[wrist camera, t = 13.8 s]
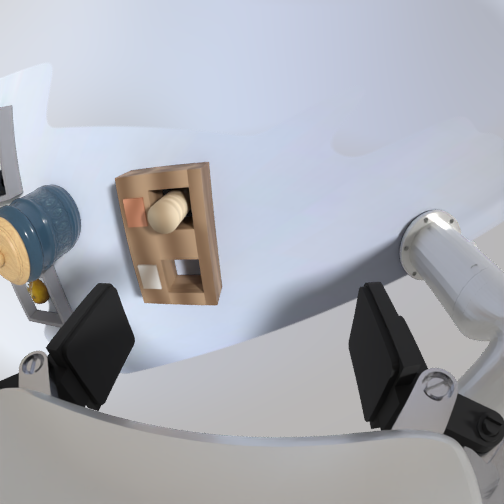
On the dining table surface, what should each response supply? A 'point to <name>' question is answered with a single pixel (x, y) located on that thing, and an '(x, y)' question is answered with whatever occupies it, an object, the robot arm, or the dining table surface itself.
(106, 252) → the dining table surface
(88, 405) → the robot arm
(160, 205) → the peg
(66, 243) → the canister
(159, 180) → the socket block
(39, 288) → the fruit
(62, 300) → the fruit corral
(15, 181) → the tray
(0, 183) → the pipe connector
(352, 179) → the dining table surface
